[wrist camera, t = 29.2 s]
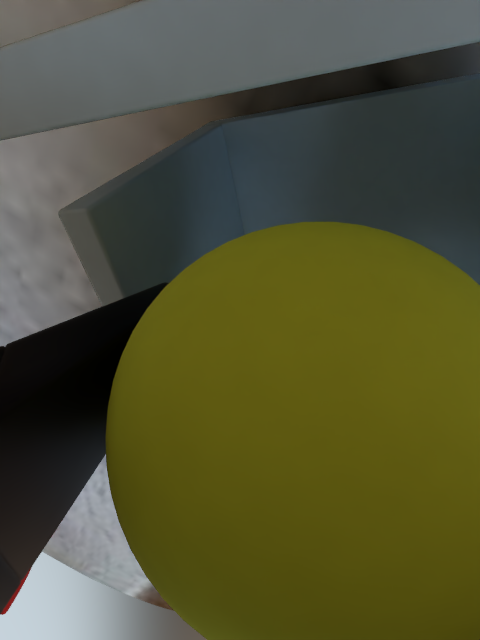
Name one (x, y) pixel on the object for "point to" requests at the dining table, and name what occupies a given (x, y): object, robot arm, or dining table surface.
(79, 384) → the robot arm
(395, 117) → the drawer
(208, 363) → the ball
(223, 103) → the dining table surface
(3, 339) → the dining table surface
